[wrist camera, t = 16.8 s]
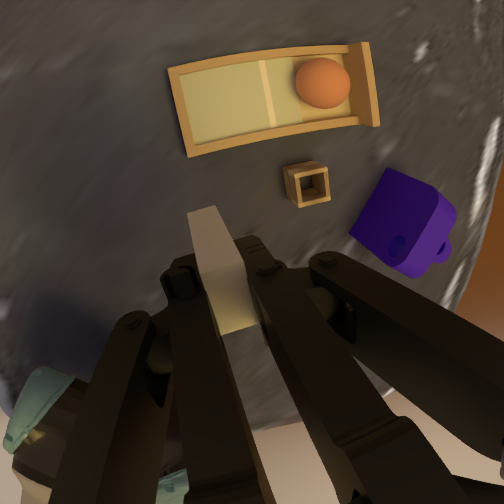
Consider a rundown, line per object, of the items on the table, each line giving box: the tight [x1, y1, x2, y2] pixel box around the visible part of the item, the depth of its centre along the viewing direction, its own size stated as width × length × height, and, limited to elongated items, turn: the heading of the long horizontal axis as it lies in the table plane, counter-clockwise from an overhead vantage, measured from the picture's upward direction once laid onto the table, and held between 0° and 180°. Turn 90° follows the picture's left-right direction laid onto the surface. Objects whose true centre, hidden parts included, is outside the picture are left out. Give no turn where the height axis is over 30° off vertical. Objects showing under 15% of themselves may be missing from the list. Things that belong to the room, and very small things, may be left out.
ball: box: [296, 58, 350, 109], centre depth 30 cm, size 6×6×6 cm
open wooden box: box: [282, 161, 331, 208], centre depth 37 cm, size 4×4×4 cm
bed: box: [167, 42, 380, 158], centre depth 31 cm, size 22×10×5 cm, turn 100°
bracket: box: [349, 168, 456, 278], centre depth 40 cm, size 18×11×12 cm, turn 61°
